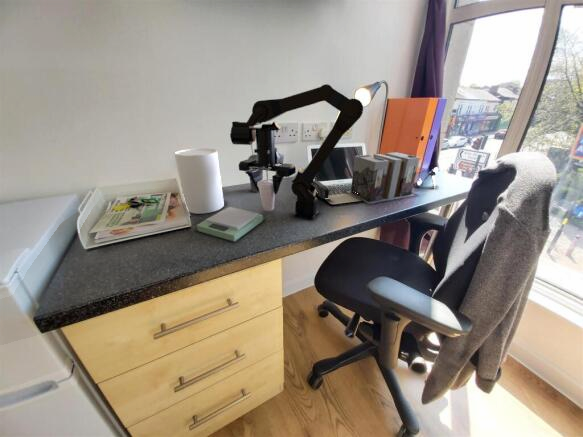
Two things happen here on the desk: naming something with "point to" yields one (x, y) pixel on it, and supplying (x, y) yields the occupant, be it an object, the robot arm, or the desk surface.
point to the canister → (200, 179)
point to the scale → (230, 223)
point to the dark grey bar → (321, 190)
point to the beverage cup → (254, 157)
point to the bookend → (383, 176)
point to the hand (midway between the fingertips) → (267, 192)
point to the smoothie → (267, 193)
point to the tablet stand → (427, 176)
